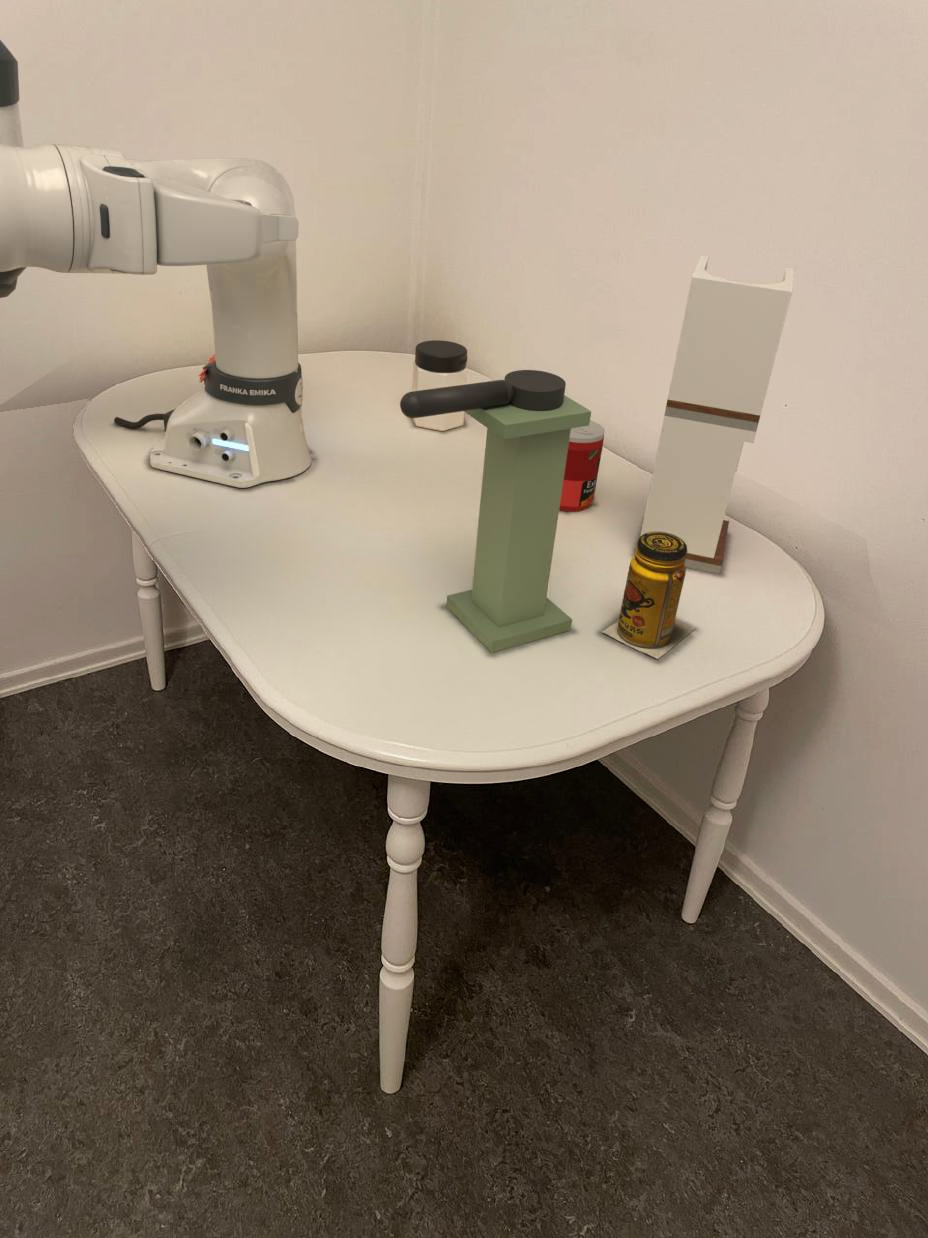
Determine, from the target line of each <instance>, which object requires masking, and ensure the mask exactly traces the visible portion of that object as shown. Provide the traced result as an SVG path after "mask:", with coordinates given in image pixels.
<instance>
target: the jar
mask: <svg viewBox="0 0 928 1238" xmlns="http://www.w3.org/2000/svg"><path fill="white" fill-rule="evenodd" d="M467 363H468V349H467V348H466V346H464V345H462V344H460V343H458V342H453V341H448V340H439V339H436V340H435V339H433V340H425V341H422V342H419V343H417V344H416V345H415V353H414V360H413V363H412V364H413V365H412V366H413V367H412V383H411V384H412V388H411V392H412V391H420V390H427V389H435V388H443V387H450V386H458V385H465V384H468V383H467V382H468V373H469V371H468V368H467ZM412 420H413V422H414V425H415V427H418V428H424V429H428V430H434V431H438V432H445V431H448V430H451V429H456V428H459V427H463V426H464V421H465V412H464V411H461V412H454V413H447V414H440V415H434V416H427V417H420V418H412Z"/></svg>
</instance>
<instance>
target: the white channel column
mask: <svg viewBox="0 0 928 1238" xmlns="http://www.w3.org/2000/svg"><path fill="white" fill-rule="evenodd" d="M709 259H710V256H708V255H701V256H700V258H699V260H698V262H697V265H696V267H695V269H694V272H693V274H692V276H691V280H690V284H689V290H688V295H687V300H686V305H685V310H684V315H683V321H682V326H681V330H680V334H679V340H678V346H677V350H676V355H675V360H674V364H673V365H674V366H673V369H672V375H671V381H670V385H669V390H668V394H667V395H668V396H667V399H666V404H665V405H666V406H665V411H664V415H663V420H662V426H661V430H660V434H659V440H658V445H657V451H656V455H655V461H654V465H653V470H652V475H651V480H650V485H649V490H648V494H647V495H648V496H647V500H646V505H645V509H644V515H643V520H642V524H641V530H640V535H639V537H640V536H642V535H643V534H645V533H648V532H655V531H656V532H666V533H670V534H673V535H676V536H677V537H679V538H681V539H682V540H683V541H684V542H685V544H686V545H687V553H686V555H685V559H686V561H685V563H684V565H685V567H686V568H687V569H693V570H698V571H701V572H702V571H703V572H707V573H711V574H717V575H720V573H721V571H722V570H721V569H722V566H723V563H724V557H725V550H726V543H727V537H728V531H729V524H730V520H726V519H725V515H726V511H727V507H728V503H729V500H730V495H731V491H732V488H733V483H734V479H735V476H736V472H737V471H738V467H739V463H740V460H741V455H742V451H743V447H744V443H749V444H750V443H751V444H754V441H755V438H756V434H757V431H758V427H759V423H760V418H761V415H762V412H763V407H764V403H765V399H766V396H767V391H768V388H769V384H770V379H771V376H772V372H773V369H774V365H775V362H776V361H775V360H776V357H777V353H778V349H779V346H780V341H781V337H782V335H783V330H784V325H785V322H786V318H787V315H788V311H789V307H790V303H791V299H792V296H793V288H794V287H793V286H794V271H795V270H794V268H790V267H785V268H784V269H785V270H784V273H783V276H782V277H783V278H782V280H781V281H782V282H778V283H770V284H760V283H748V282H740V281H734V280H730V279H727V278H722V277H720V276H716V275H713V274H711V273H709V272H708V271H707V268H708V263H709Z"/></svg>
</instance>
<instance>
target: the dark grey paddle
mask: <svg viewBox="0 0 928 1238" xmlns="http://www.w3.org/2000/svg"><path fill="white" fill-rule="evenodd" d="M566 385H567V383H566V380H565V379H564V378H562V377H561V376H559V375H557V374H554V373H551V372H547V371H543V370H536V369H518V370H514V371H510V372H508V373H506V375H505V376H504V379H496V380H488V381H482V382H475V383H467V384H465V385H458V386H450V387H443V388H435V389H427V390H420V391H412V390H411V391H409V392H406V393H405V394H404V395H402V397H401V399H400V402H399V407H400V411H401V413H402V414H403V415H404V416H405V417H406V418H409V419H413V418H420V417H427V416H434V415H440V414H447V413H454V412H461V411H468V410H475V409H481V408H488V407H495V406H502V405H506V404H510V405H512V406H514V407H517V408H520V409H525V410H531V411H549V410H554V409H557V408H559V407H561V406H562V405H563V401H564V395H565V393H566Z"/></svg>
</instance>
